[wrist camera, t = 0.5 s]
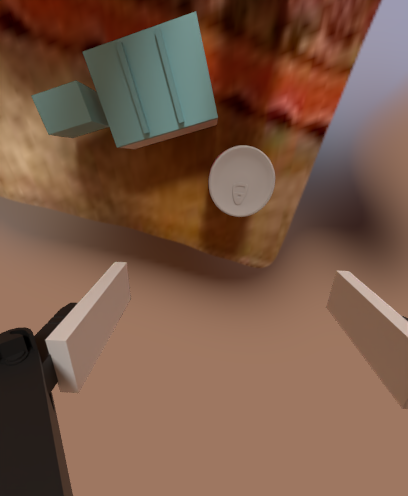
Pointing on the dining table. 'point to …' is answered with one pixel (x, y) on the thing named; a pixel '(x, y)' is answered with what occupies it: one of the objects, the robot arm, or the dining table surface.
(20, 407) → the robot arm
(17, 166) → the dining table surface
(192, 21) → the teal stepped block
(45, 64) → the dining table surface
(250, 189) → the canned food
